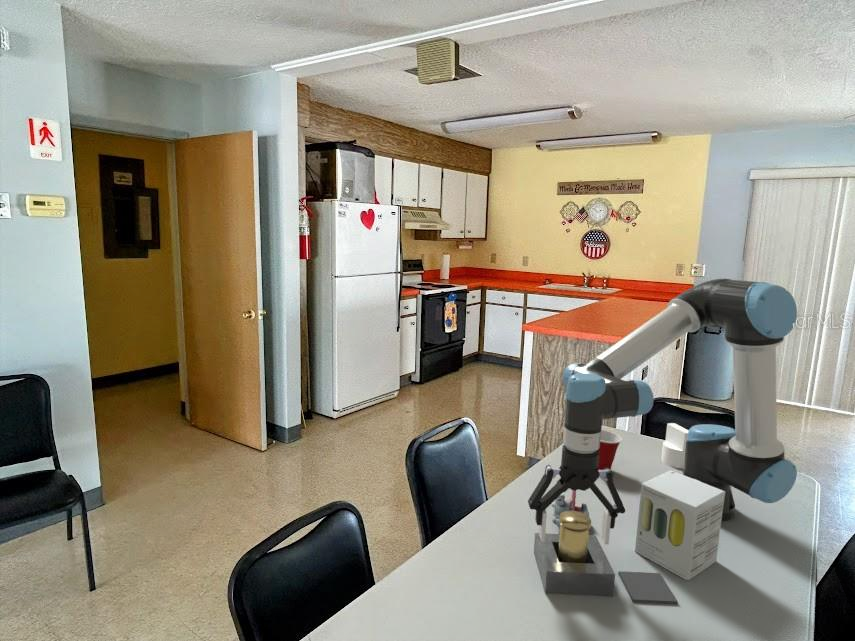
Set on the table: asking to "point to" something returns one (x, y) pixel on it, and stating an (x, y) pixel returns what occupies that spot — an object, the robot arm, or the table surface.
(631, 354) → the robot arm
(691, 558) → the supplement box
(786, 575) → the table surface
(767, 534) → the table surface
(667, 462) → the cylinder with rectangular tab
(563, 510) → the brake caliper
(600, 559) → the housing
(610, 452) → the plastic cup
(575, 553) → the end cover
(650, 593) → the mat
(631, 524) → the table surface
